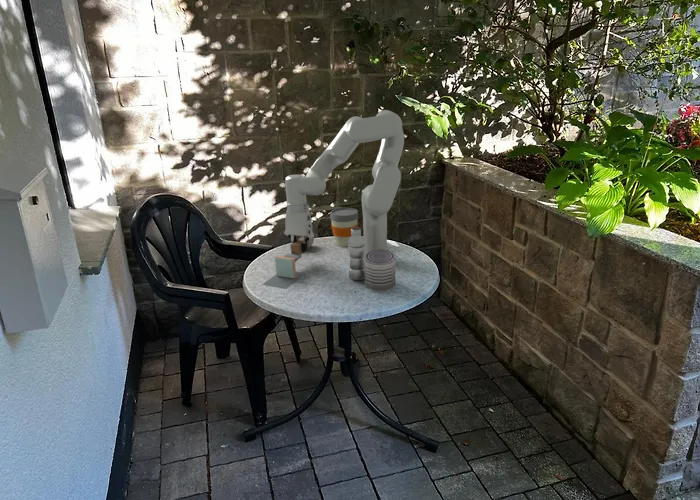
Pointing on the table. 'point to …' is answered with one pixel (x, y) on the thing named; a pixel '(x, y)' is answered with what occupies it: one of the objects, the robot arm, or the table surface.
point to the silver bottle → (356, 255)
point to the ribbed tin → (380, 270)
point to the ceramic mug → (309, 240)
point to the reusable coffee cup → (343, 224)
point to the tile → (285, 267)
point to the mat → (283, 280)
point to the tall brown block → (296, 250)
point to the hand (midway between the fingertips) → (300, 250)
